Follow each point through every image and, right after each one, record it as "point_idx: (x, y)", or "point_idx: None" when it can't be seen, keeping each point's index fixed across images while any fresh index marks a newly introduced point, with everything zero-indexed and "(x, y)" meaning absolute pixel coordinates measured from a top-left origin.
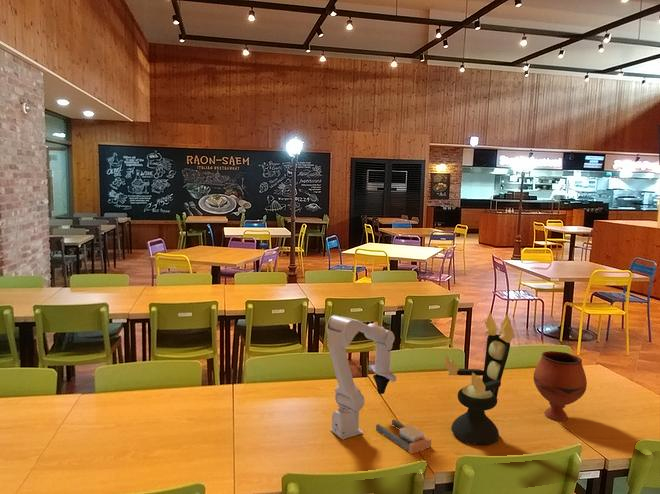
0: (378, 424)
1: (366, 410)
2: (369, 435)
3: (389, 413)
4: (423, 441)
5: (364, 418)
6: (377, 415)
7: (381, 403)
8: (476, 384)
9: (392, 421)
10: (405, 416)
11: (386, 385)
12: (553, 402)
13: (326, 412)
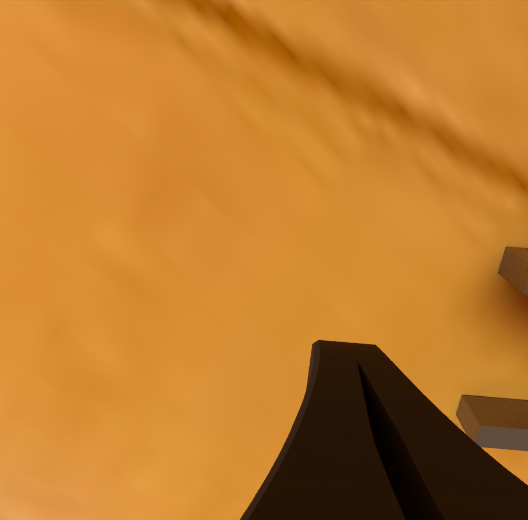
0: (482, 431)
1: (152, 259)
2: None
3: (321, 118)
4: None
5: (263, 364)
6: (283, 246)
7: (83, 8)
8: None
9: (523, 289)
10: (483, 13)
11: (487, 471)
12: None
13: (48, 494)
